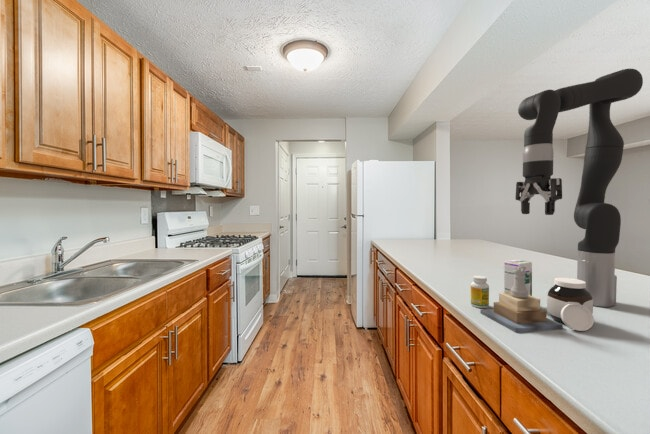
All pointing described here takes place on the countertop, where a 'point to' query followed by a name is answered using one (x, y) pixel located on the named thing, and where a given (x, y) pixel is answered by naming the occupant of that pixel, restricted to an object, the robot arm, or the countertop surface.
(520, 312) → the block tower
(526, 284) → the syrup box
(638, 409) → the countertop surface
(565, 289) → the spread jar
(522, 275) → the rook chess piece
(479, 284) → the supplement bottle
